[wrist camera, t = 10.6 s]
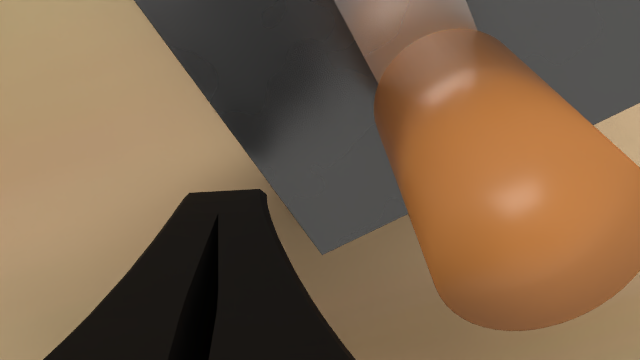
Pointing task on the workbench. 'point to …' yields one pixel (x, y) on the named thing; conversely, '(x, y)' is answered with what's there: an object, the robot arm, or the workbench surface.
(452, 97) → the crank
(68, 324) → the workbench surface
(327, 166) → the crank base
